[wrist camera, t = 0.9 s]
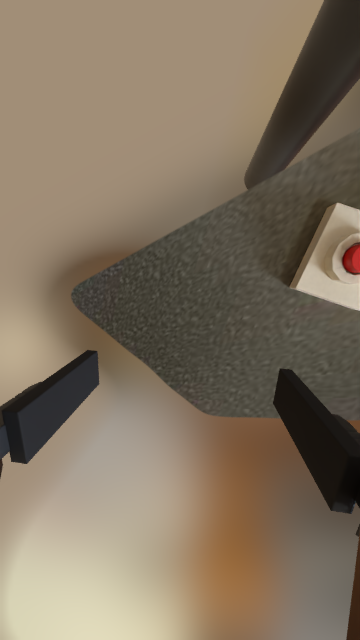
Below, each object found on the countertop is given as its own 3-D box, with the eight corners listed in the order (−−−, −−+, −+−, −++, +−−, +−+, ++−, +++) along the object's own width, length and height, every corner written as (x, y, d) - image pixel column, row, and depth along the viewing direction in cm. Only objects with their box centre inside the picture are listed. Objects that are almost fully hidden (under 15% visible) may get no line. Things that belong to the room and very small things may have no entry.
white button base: (327, 207, 28) (347, 197, 25) (394, 230, 28) (425, 223, 24) (288, 287, 31) (301, 289, 28) (349, 308, 31) (370, 313, 27)
